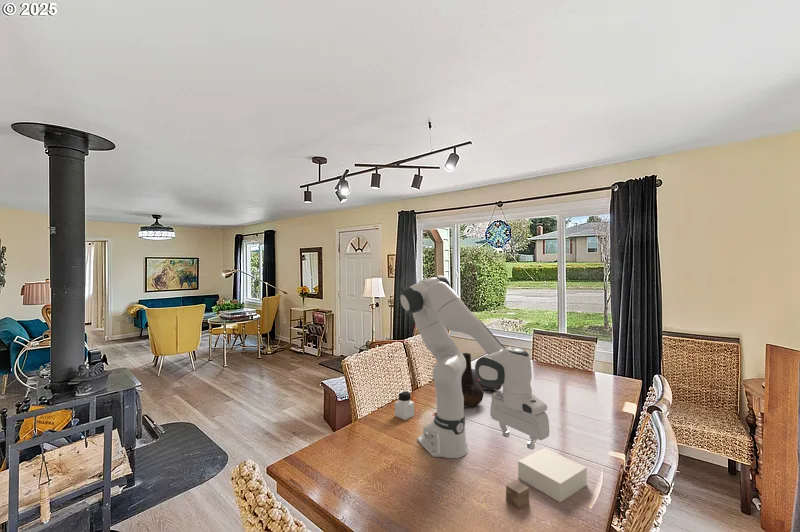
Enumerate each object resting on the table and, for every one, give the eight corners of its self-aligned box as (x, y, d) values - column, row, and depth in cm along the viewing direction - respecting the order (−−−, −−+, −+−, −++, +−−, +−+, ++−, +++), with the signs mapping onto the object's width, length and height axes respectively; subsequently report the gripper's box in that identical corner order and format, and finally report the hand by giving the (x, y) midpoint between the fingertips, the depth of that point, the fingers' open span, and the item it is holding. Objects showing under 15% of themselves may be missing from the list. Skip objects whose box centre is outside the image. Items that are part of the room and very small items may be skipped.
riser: (518, 477, 124) (518, 460, 124) (544, 463, 133) (544, 447, 133) (560, 502, 111) (560, 483, 111) (586, 485, 120) (586, 467, 120)
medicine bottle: (414, 415, 176) (414, 392, 176) (405, 420, 171) (405, 396, 171) (404, 411, 181) (404, 388, 181) (394, 416, 176) (394, 392, 176)
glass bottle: (478, 398, 200) (478, 349, 200) (487, 411, 182) (487, 357, 182) (448, 398, 199) (448, 349, 200) (453, 411, 182) (453, 357, 182)
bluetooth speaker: (463, 384, 223) (463, 369, 223) (472, 381, 230) (472, 366, 230) (494, 394, 207) (494, 377, 207) (502, 390, 213) (502, 374, 213)
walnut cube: (506, 500, 112) (506, 485, 112) (515, 494, 115) (515, 479, 115) (519, 509, 108) (519, 493, 108) (529, 503, 111) (529, 487, 111)
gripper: (485, 391, 118) (486, 432, 118) (539, 411, 101) (540, 459, 101) (498, 388, 122) (498, 427, 122) (552, 406, 105) (552, 452, 105)
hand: (517, 442), depth 111 cm, fingers open, 8 cm apart
